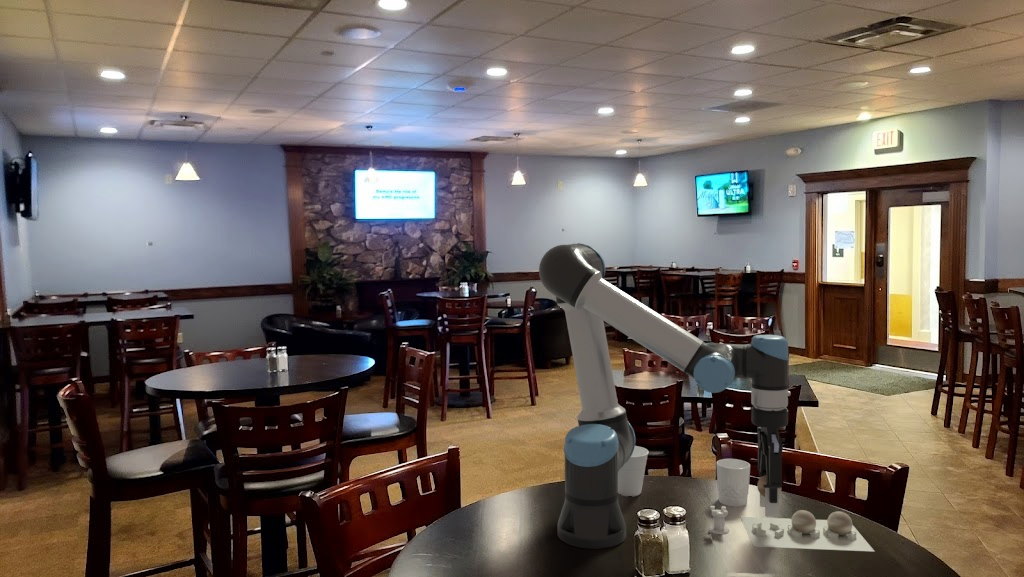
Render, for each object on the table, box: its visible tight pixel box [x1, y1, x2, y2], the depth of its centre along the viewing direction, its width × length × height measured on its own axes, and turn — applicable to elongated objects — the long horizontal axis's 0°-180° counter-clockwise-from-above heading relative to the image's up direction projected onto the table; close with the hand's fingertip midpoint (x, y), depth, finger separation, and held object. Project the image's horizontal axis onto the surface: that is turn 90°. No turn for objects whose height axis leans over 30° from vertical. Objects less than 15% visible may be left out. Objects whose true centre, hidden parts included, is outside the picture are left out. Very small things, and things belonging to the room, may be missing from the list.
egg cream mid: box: [791, 509, 817, 534], centre depth 159 cm, size 5×5×5 cm
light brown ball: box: [757, 475, 783, 497], centre depth 159 cm, size 5×5×5 cm
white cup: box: [716, 458, 751, 507], centre depth 178 cm, size 8×8×10 cm
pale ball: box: [826, 510, 854, 535], centre depth 158 cm, size 5×5×5 cm
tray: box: [740, 516, 876, 553], centre depth 159 cm, size 24×16×2 cm, turn 83°
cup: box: [618, 445, 649, 497], centre depth 186 cm, size 10×10×11 cm
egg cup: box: [708, 505, 730, 535], centre depth 161 cm, size 4×4×5 cm
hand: (769, 510), depth 159 cm, fingers closed on light brown ball, 5 cm apart
